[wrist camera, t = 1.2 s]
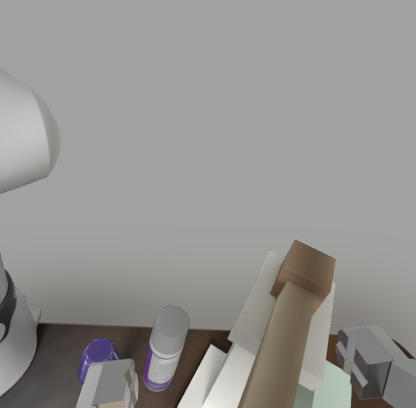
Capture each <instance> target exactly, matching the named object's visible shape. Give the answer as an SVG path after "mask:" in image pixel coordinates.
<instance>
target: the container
mask: <svg viewBox="0 0 416 408" xmlns="http://www.w3.org/2000/svg"><path fill="white" fill-rule="evenodd" d="M189 323H190V321H189V317H188V315H187V313H186V312H185V311H184V310H183V309H181V308H180V307H177V306H167V307H164V308H162V309H161V310H160V311H159V312H158V313H157V315H156V317H155V321H154V325H153V329H152V333H151V337H150V341H149V346H148V352H147V357H146V362H145V367H144V372H143V380H144V383H145V385H146V386H147V388H149V389H150V390H152V391H156V392H159V391H162V390H165V389H166V388H167V387H168V386H169V385H170V383H171V381H172V379H173V376H174V373H175V370H176V367H177V364H178V361H179V358H180V355H181V352H182V349H183V346H184V342H185V339H186V335H187V332H188V328H189Z"/></svg>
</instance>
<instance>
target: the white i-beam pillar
mask: <svg viewBox="0 0 416 408" xmlns="http://www.w3.org/2000/svg"><path fill="white" fill-rule="evenodd" d="M284 259H285V257H283V256H281V255H279V254H276V253H275V252H273V251H270V252H269V254H268V256H267V258H266V260H265V262H264V264H263V266H262V269H261V271H260V273H259V275H258V277H257V279H256V281H255V283H254V285H253V287H252V289H251V291H250V294H249V295H248V297H247V299H246V302H245V304H244V306H243V308H242V310H241V312H240V314H239V316H238V318H237V321H236V322H235V324H234V326H233V329H232V330H231V332H230V334H229V337H228V339H229V340H230V341H232V342H233V344H232V346H231V348H230V350H229V352H228V354H225V353H224V352H222V351H221V350H219V349H218V348H216V347H214V346H213V345H210V347H209V349H208V351H207V353H206V354H205V356H204V358H203V360H202V362H201V364H200V366H199V368H198V369H197V371H196V373H195V375H194V377H193V379H192V381H191V383H190V384H189V386H188V388H187V390H186V392H185V394H184V396H183V398H182V399H181V401H180V403H179V405H178V407H177V408H237V407H238V404H239V402H240V399H241V396H242V393H243V391H244V388H245V385H246V382H247V380H248V377H249V374H250V371H251V368H252V366H253V363H254V360H255V357H256V355H257V352H258V349H259V346H260V344H261V341H262V338H263V335H264V333H265V330H266V327H267V324H268V322H269V319H270V316H271V313H272V311H273V308H274V305H275V302H276V300H277V298H275V297H274V296H272V295H270V292H271V289H272V287H273V284H274V282H275V279H276V277H277V274H278V272H279V269H280V267H281V264H282V263H283V261H284ZM334 291H335V283H334V282H332V287H331V292H330V293H329V295H328V296H327V297H326V299H325V300H324V301H323V303H322V304H321V305H320V307H319V308H318V309H317V311H316V312H315V313H314V315H313V316H312V318H311V323H310V328H309V333H308V338H307V343H306V348H305V353H304V357H303V362H302V367H301V372H300V377H299V382H298V383H299V384H301V385H303V386H304V387H306V388H307V389H309V390H311V391H313V390H314V389H315V388H316V387H317V386H318V385H319V384H320V383H321V382H322V381H323V375H324V368H325V360H326V352H327V345H328V337H329V329H330V322H331V321H330V320H331V314H332V306H333V299H334Z"/></svg>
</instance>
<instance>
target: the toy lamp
mask: <svg viewBox="0 0 416 408" xmlns="http://www.w3.org/2000/svg"><path fill="white" fill-rule="evenodd" d="M114 360H122V358H121V355H120V353H119V351H118V349H117V348H116V346H115V345H114V344H113V342H112V341H110V340H109V339H107V338H98V339H95V340H93V341H91V342H90V343H89V344H88V346H87V347H86V349H85V351H84V353H83V355H82V358H81V360H80V362H79V366H78V378H79V380H80V382H81V384H82V385H83V384H84V381H85V378H86V375H87V372H88V369H89V367H90V365H91V364H92V363H98V362H105V361H114Z"/></svg>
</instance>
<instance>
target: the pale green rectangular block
mask: <svg viewBox="0 0 416 408" xmlns="http://www.w3.org/2000/svg"><path fill="white" fill-rule="evenodd" d="M350 407H351V384H350V376H349V375H348V374H346V373H345V372H343V370H342V369H340V368H338V367H337V366H335V365H333V364H331V363H330V362H328V361H326V360H325V368H324V375H323V381H322V382H321V383H320V384H319V385H318V386H317V387H316V388H315V389H314V390H313V391H311V390H309V389H307V388H306V387H304V386H303V385H301V384H299V383H298V387H297V392H296V397H295V402H294V406H293V408H350Z"/></svg>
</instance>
